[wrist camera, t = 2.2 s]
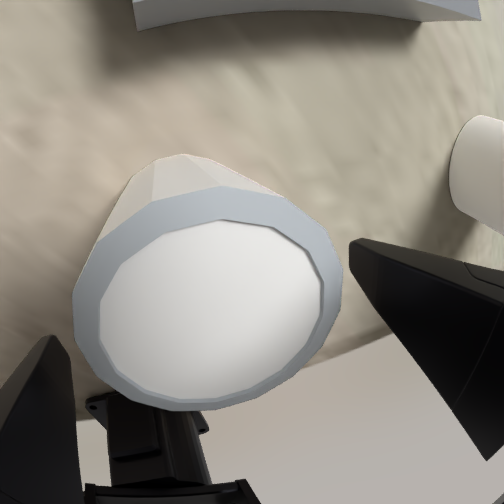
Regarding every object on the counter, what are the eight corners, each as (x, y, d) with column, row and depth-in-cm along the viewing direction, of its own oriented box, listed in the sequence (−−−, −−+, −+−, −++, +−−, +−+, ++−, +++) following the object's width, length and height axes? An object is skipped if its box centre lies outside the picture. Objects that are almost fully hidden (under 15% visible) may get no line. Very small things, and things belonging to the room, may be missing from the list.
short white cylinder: (253, 282, 16) (316, 391, 10) (110, 294, 14) (106, 424, 8) (267, 140, 13) (373, 190, 7) (95, 142, 11) (40, 198, 5)
